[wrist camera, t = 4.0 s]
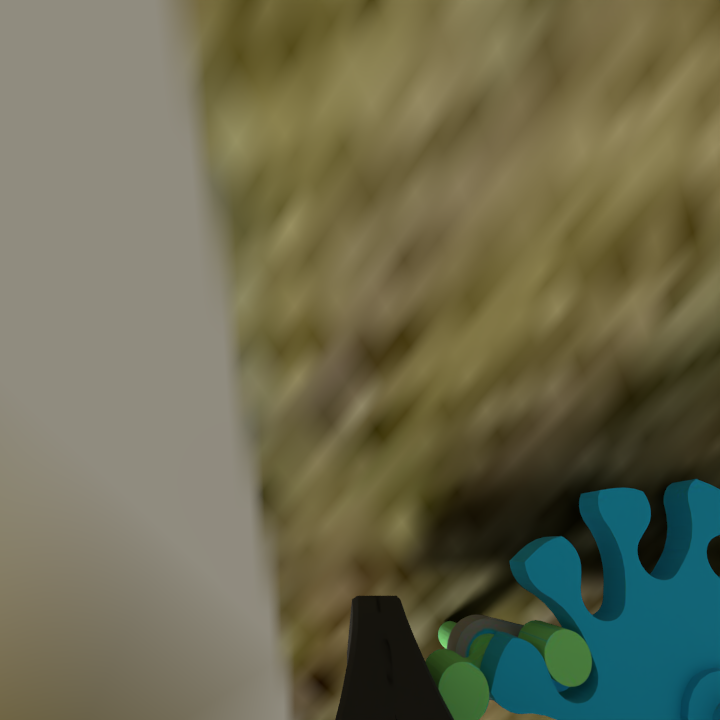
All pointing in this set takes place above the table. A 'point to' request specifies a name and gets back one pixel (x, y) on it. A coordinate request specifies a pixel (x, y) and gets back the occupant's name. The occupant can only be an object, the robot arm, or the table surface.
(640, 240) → the table surface
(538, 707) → the gear
